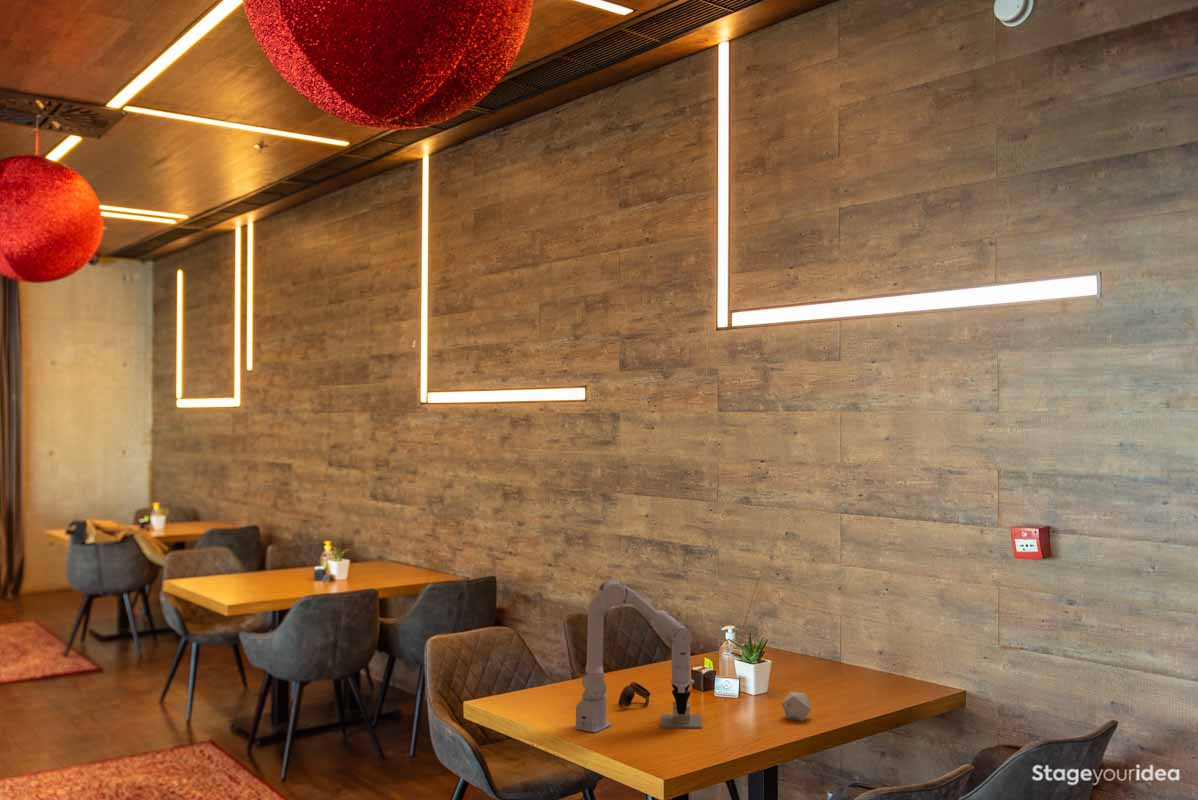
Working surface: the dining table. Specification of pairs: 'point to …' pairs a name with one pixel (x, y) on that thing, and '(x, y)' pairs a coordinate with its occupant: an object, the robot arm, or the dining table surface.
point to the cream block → (680, 717)
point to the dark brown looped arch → (629, 694)
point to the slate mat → (694, 723)
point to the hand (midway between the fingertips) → (681, 710)
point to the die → (796, 706)
